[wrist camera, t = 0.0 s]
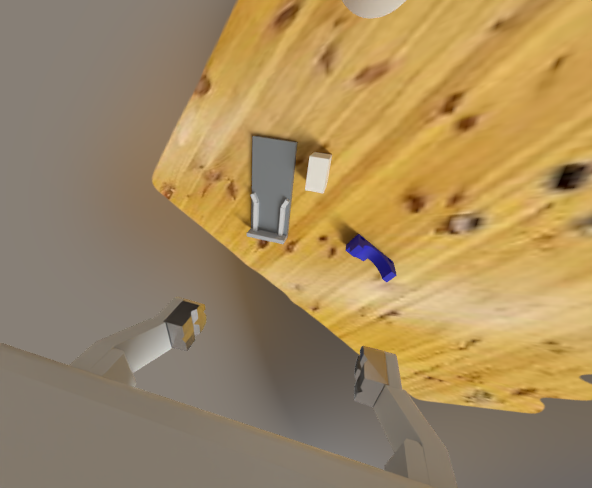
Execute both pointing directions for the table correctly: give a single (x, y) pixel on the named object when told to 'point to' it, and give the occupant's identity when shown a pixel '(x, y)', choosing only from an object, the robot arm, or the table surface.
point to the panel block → (318, 172)
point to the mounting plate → (271, 188)
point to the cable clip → (371, 256)
